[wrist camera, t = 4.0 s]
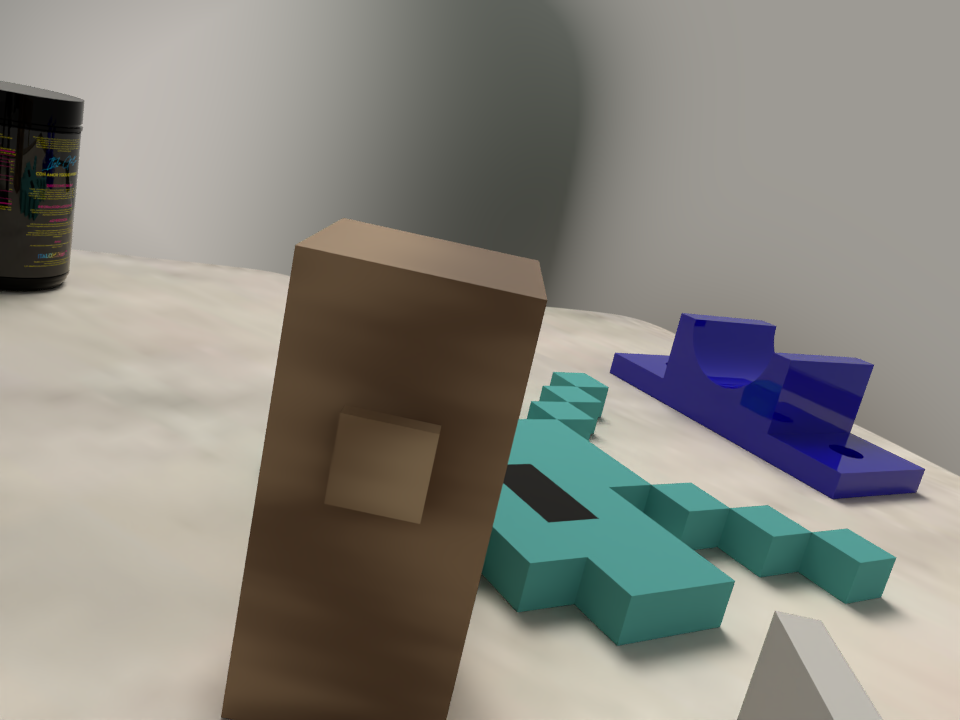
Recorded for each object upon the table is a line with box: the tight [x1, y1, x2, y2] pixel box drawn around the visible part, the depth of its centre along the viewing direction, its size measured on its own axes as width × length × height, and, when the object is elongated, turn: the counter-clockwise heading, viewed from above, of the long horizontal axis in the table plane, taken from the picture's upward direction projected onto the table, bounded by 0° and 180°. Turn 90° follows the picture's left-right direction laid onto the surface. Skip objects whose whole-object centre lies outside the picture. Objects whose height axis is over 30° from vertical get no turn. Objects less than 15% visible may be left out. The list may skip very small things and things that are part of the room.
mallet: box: [221, 218, 547, 720], centre depth 24 cm, size 5×14×11 cm, turn 178°
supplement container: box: [0, 81, 84, 291], centre depth 47 cm, size 7×7×10 cm
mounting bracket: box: [610, 313, 925, 499], centre depth 51 cm, size 18×7×6 cm, turn 30°
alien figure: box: [481, 372, 896, 646], centre depth 35 cm, size 20×2×20 cm
